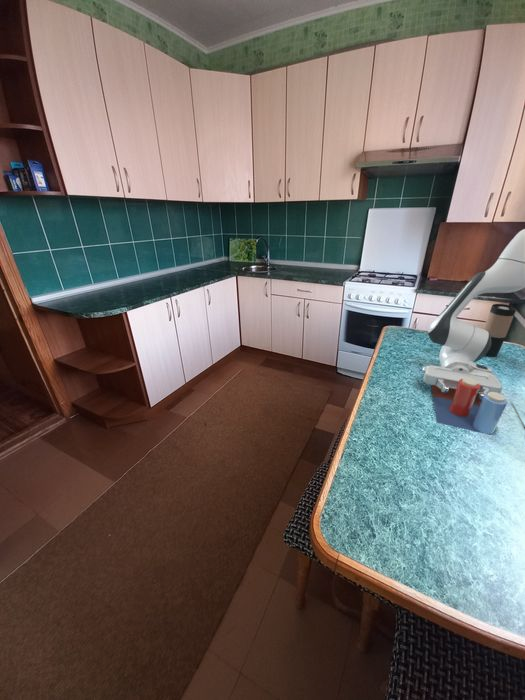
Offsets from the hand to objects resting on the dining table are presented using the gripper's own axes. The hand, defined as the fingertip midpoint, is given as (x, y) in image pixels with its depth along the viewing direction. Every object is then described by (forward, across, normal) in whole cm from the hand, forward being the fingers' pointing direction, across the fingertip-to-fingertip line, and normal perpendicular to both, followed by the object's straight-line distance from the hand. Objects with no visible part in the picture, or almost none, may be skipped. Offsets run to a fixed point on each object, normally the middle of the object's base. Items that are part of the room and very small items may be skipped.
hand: (463, 394), depth 85 cm
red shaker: (+1, 0, +6) cm, 6 cm away
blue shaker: (+7, +5, +6) cm, 10 cm away
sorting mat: (-4, 0, +6) cm, 8 cm away
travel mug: (-47, +16, +6) cm, 50 cm away
